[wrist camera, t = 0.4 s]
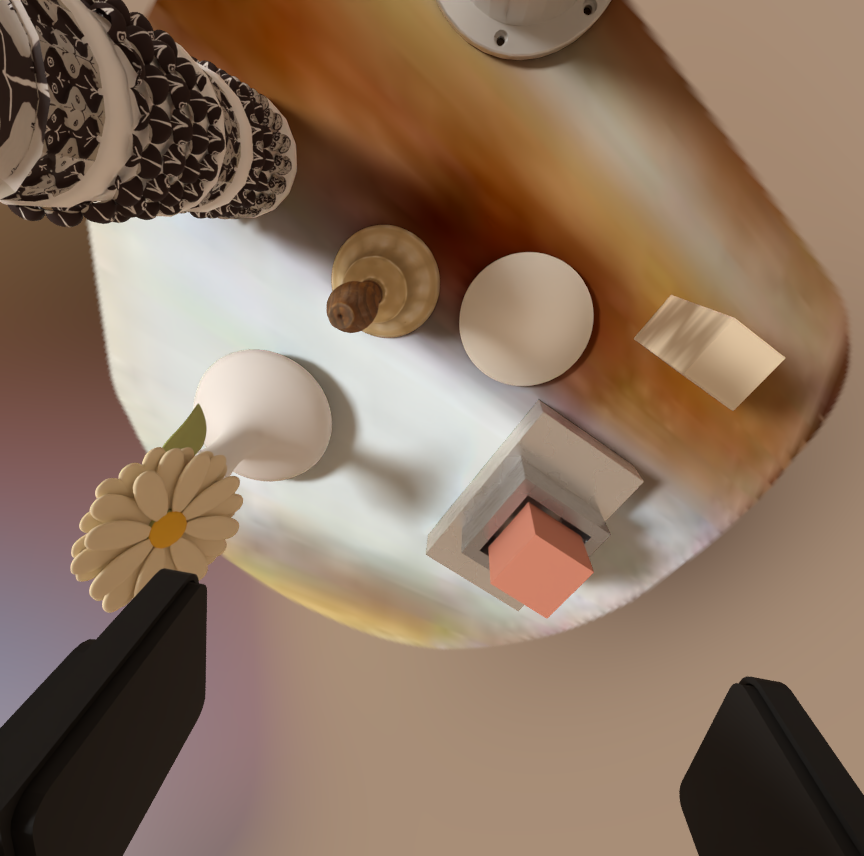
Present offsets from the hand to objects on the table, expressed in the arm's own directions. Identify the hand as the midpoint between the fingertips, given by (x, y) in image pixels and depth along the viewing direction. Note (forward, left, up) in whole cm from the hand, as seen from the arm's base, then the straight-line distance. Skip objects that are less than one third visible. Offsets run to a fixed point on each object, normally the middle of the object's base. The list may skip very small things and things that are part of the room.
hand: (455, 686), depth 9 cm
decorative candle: (-8, -19, -34) cm, 40 cm away
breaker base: (+13, +9, -34) cm, 37 cm away
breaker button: (+13, +9, -28) cm, 32 cm away
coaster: (-2, +4, -34) cm, 34 cm away
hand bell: (-2, -7, -34) cm, 35 cm away
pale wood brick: (-4, +15, -34) cm, 37 cm away
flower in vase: (+10, -14, -34) cm, 38 cm away
